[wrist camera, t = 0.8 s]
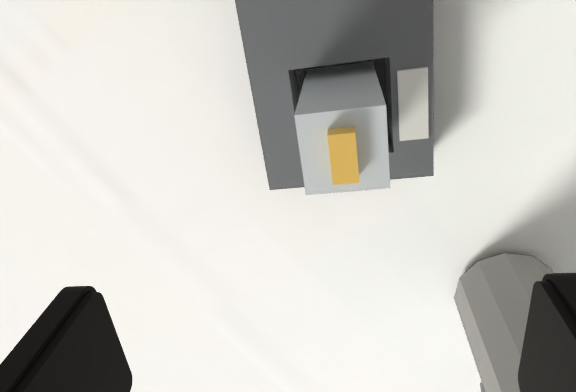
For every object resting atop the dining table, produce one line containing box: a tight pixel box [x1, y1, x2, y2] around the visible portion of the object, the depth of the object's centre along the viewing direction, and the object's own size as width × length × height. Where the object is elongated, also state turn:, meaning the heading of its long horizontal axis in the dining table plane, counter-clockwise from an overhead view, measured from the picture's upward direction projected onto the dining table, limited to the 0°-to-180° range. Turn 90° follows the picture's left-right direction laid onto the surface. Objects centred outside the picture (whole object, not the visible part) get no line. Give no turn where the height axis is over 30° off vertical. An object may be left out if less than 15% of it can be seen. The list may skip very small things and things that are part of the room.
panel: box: [235, 0, 433, 190], centre depth 25 cm, size 10×20×3 cm, turn 8°
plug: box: [294, 62, 390, 195], centre depth 24 cm, size 4×4×10 cm
